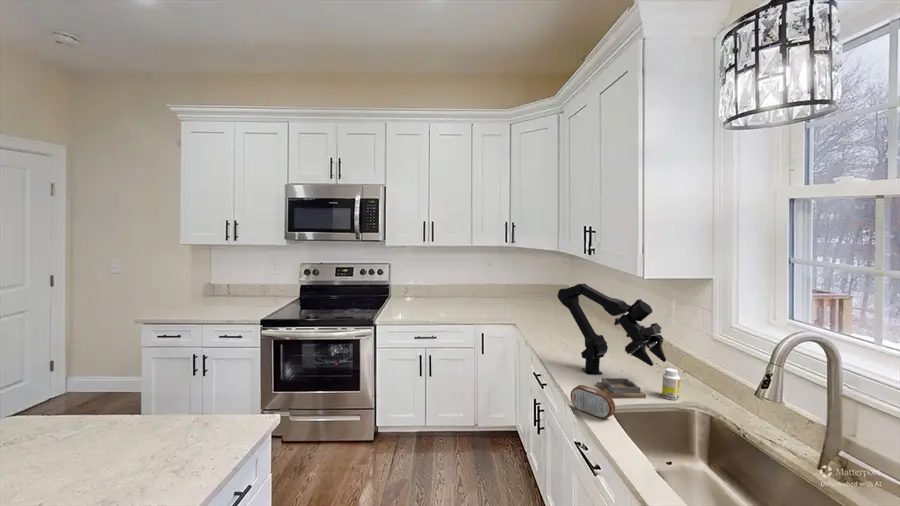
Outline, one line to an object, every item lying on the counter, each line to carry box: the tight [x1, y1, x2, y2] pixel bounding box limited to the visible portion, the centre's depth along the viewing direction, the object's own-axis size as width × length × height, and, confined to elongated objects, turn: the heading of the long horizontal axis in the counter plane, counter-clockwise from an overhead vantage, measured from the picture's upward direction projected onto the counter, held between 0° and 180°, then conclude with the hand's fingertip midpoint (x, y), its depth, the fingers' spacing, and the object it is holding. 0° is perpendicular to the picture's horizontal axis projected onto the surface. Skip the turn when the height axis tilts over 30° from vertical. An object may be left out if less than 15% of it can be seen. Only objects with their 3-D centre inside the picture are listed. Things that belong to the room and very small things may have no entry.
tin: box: [570, 384, 616, 420], centre depth 145 cm, size 15×3×8 cm, turn 42°
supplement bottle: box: [661, 367, 681, 401], centre depth 161 cm, size 6×6×10 cm
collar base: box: [595, 377, 647, 399], centre depth 166 cm, size 13×13×3 cm
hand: (658, 363), depth 164 cm, fingers open, 9 cm apart
